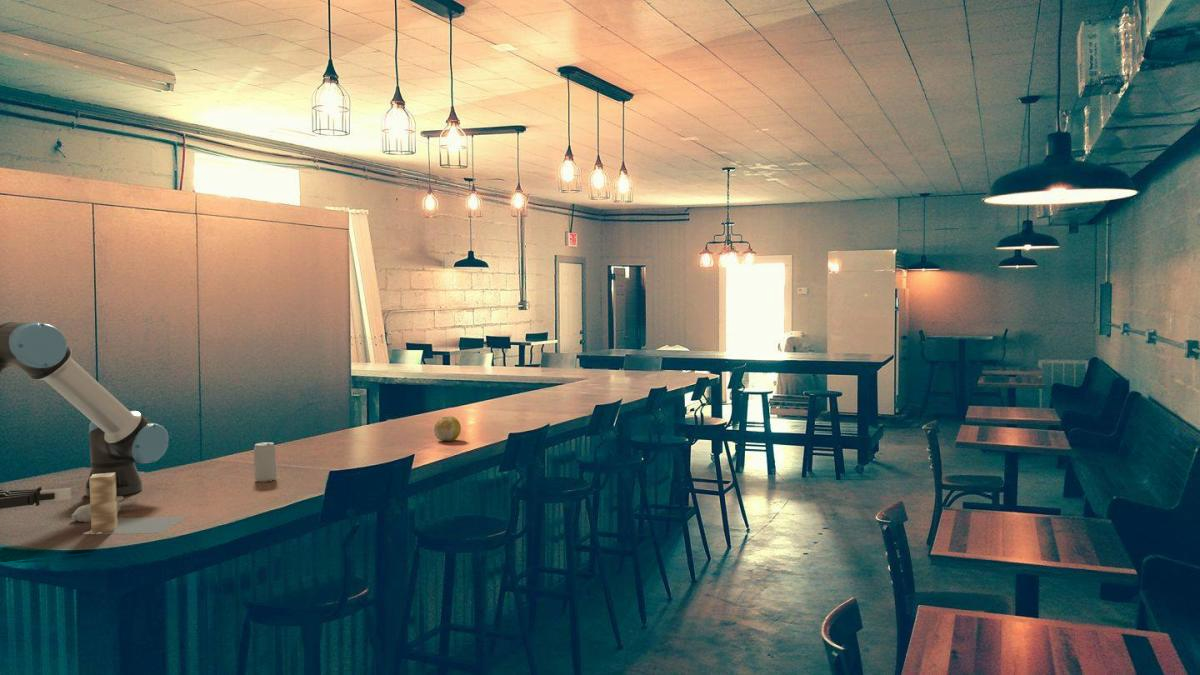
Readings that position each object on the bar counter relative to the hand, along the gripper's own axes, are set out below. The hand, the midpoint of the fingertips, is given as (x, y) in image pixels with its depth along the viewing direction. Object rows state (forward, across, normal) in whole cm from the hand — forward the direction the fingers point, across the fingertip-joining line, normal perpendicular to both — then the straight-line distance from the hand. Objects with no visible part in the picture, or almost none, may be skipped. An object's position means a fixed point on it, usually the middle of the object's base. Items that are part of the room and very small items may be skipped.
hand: (71, 493), depth 211 cm
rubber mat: (+14, -2, -10) cm, 17 cm away
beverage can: (+45, -46, -11) cm, 65 cm away
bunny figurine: (+4, -16, -11) cm, 20 cm away
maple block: (+7, 0, -10) cm, 12 cm away
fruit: (+113, -93, -11) cm, 146 cm away
